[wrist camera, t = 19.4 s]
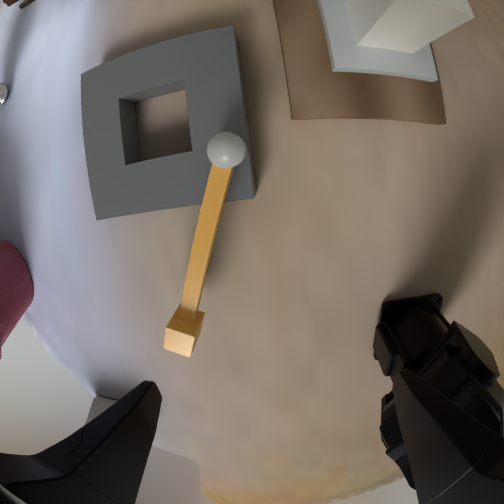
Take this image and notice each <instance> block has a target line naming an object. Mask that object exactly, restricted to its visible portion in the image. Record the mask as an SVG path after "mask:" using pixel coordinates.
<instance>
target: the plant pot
mask: <svg viewBox="0 0 504 504" xmlns="http://www.w3.org/2000/svg"><path fill="white" fill-rule="evenodd" d="M32 300H33V284H32V280H31V276H30V273H29V270H28V268H27V265H26V263H25V261H24V259H23V257H22V256H21V254H20V253H19V251H18V250H17V249H16V248H15V247H14V246H13V245H12V244H11V243H9V242H5V241H4V242H0V359H1V346H2V345H3V343H4V342H5V340H6V339H7V337H8V336H9V334H10V333H11V331H12V330H13V328H14V327H15V325H16V324H17V322H18V321H19V319H20V318H21V317H22V315H23V314H24V312H25V311H26V309H27V308H28V307H29V305H30V304H31V302H32Z"/></svg>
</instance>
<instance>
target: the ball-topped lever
mask: <svg viewBox="0 0 504 504" xmlns="http://www.w3.org/2000/svg"><path fill="white" fill-rule="evenodd" d="M247 153H248V147H247V144H246V142H245V141H244V139H242V138H241V137H240V136H238V135H236V134H234V133H231V132H221V133H218V134H216V135H215V136H214V137H212V139H211V140H210V141H209V143H208V146H207V155H208V158H209V160H210V161H211V162H212V167H211V170H210V174H209V178H208V182H207V186H206V190H205V194H204V198H203V202H202V206H201V210H200V214H199V219H198V223H197V227H196V232H195V236H194V241H193V245H192V250H191V255H190V259H189V264H188V269H187V274H186V279H185V285H184V290H183V295H182V301H181V305H179V306H178V308H177V310H176V311H175V313H174V315H173V316H172V318H171V320H170V322H169V323H168V325H167V327H166V332H165V340H164V349H167V350H169V351H172V352H175V353H178V354H181V355H184V356H187V357H191V354H192V352H193V349H194V347H195V344H196V342H197V339H198V337H199V334H200V331H201V327H202V323H203V319H204V314H205V313H204V312H201V311H198V308H199V304H200V299H201V295H202V291H203V286H204V282H205V278H206V274H207V269H208V265H209V261H210V257H211V253H212V249H213V245H214V241H215V237H216V233H217V229H218V225H219V221H220V218H221V214H222V210H223V206H224V203H225V199H226V195H227V192H228V188H229V184H230V181H231V177H232V173H233V170H234V166H237V165H239V164H241V163H242V162H243V161H244V160H245V159H246V157H247Z"/></svg>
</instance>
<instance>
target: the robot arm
mask: <svg viewBox="0 0 504 504" xmlns="http://www.w3.org/2000/svg"><path fill="white" fill-rule="evenodd" d="M438 298H439V299H438ZM437 299H438V300H437ZM442 300H443V297H442V296H441V295H440V294H432V295H426V296H420V297H414V298H407V299H400V300H393V301H387V302H384V303H383V304H382V306H381V312H380V319H379V324H378V325H377V326H376V331H375V337H374V343H373V349H374V354H373V356H374V358H375V359H376V360H378V361H379V363H380V366H381V368H382V371H383V374H384V375H385V376H390V377H391V380H392V382H393V390H392V391H391V392H390V393H389V394H386V395H385V396H384V397H383V398H382V407H381V425H380V432H381V438H382V441H383V443H384V445H385V447H386V448H387V450H386V454H387V455H388V456H389V457H390V458H392V459H393V460H394V461H395V462H396V464H397V465H398V466H399V467H400V469H401V470H402V472H403V474H404V476H405V478H406V480H407V482H408V484H409V486H410V487H411V488H413V489H415V490H416V492H417V497H418V502H419V504H504V390H503V388H502V387H501V386H500V384H499V383H498V382H497V378H498V377H499V376H500V373H499V370H498V367H497V364H496V361H495V359H494V356H493V353H492V352H491V351H490V350H489V348H488V347H487V346H486V345H485V344H484V343H483V342H482V341H481V339H480V338H479V337H478V336H476V335H475V334H473V333H472V332H470V331H469V330H468V329H466V328H465V327H463V326H462V325H460V324H459V323H457V322H456V321H455V320H454V321H453V322H452V323H451V325H450V324H449V322H448V321H447V320H446V319H445V318H444V316H443V315H442V314H441V313H440V309H441V305H442ZM387 306H389V307H388V308H387V309H385V308H386V307H387ZM161 402H162V396H161V393H160V391H159V389H158V387H157V385H156V383H155V382H153V381H143V382H142V383H141V384H139V385H138V386H137V387H135V388H134V389H133V390H131V391H130V392H129V393H128V394H126V395H125V396H124V397H122V398H121V399H120V400H118V401H117V402H116V403H114V404H113V405H112V406H110V407H109V408H108V409H106V410H105V411H104V412H102V413H101V414H99V415H98V416H97V417H95V418H94V419H93V420H91V421H90V422H88V423H87V424H86V425H84V426H83V427H81V428H80V429H79V430H77V431H76V432H74V433H73V434H72V435H70V436H68V437H67V438H65V439H64V440H62V441H60V442H58V443H57V444H55V445H53V446H51V447H49V448H47V449H45V450H44V451H42V452H40V453H38V454H35V455H15V454H5V453H0V504H135V501H136V498H137V494H138V490H139V487H140V483H141V480H142V476H143V473H144V470H145V466H146V463H147V459H148V456H149V453H150V449H151V446H152V443H153V439H154V436H155V433H156V428H157V423H158V418H159V412H160V407H161Z"/></svg>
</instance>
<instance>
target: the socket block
mask: <svg viewBox="0 0 504 504" xmlns="http://www.w3.org/2000/svg"><path fill="white" fill-rule="evenodd" d="M184 89H185V90H186V100H187V110H188V119H189V128H190V136H191V145H192V151H190V152H184V153H179V154H174V155H169V156H164V157H159V158H155V159H150V160H146V161H141V157H140V150H139V142H138V133H137V123H136V112H135V103H137V102H140V101H143V100H146V99H150V98H153V97H157V96H160V95H164V94H168V93H172V92H176V91H180V90H184ZM81 105H82V123H83V135H84V145H85V154H86V162H87V169H88V176H89V182H90V188H91V194H92V199H93V205H94V210H95V214H96V219H97V220H102V219H107V218H113V217H118V216H124V215H130V214H137V213H143V212H149V211H156V210H163V209H170V208H177V207H184V206H192V205H200V204H202V202H203V198H204V194H205V190H206V186H207V182H208V178H209V174H210V170H211V167H212V162H211V161H210V160H209V158H208V155H207V146H208V143H209V141H210V140H211V139H212V137H214V136H215V135H216V134H218V133H221V132H231V133H234V134H236V135H238V136H240V137H241V138H242V139H244V141H245V142H246V144H247V147H248V153H247V157H246V159H245V160H244V161H243V162H242V163H241V164H239V165H237V166H234V170H233V173H232V177H231V181H230V184H229V188H228V192H227V195H226V199H225V201H234V200H244V199H254V197H255V195H256V193H257V192H256V183H255V175H254V166H253V157H252V148H251V140H250V131H249V123H248V115H247V106H246V98H245V90H244V82H243V74H242V66H241V58H240V50H239V43H238V38H237V35H236V32H235V29H234V27H233V25H232V26H226V27H220V28H215V29H209V30H205V31H200V32H196V33H191V34H187V35H183V36H180V37H176V38H172V39H169V40H165V41H162V42H159V43H156V44H153V45H150V46H147V47H144V48H141V49H138V50H135V51H133V52H130V53H127V54H125V55H122V56H120V57H117V58H115V59H113V60H110V61H108V62H106V63H103V64H101V65H99V66H97V67H95V68H93V69H91V70H89V71H87V72H85V73H83V74H81Z"/></svg>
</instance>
